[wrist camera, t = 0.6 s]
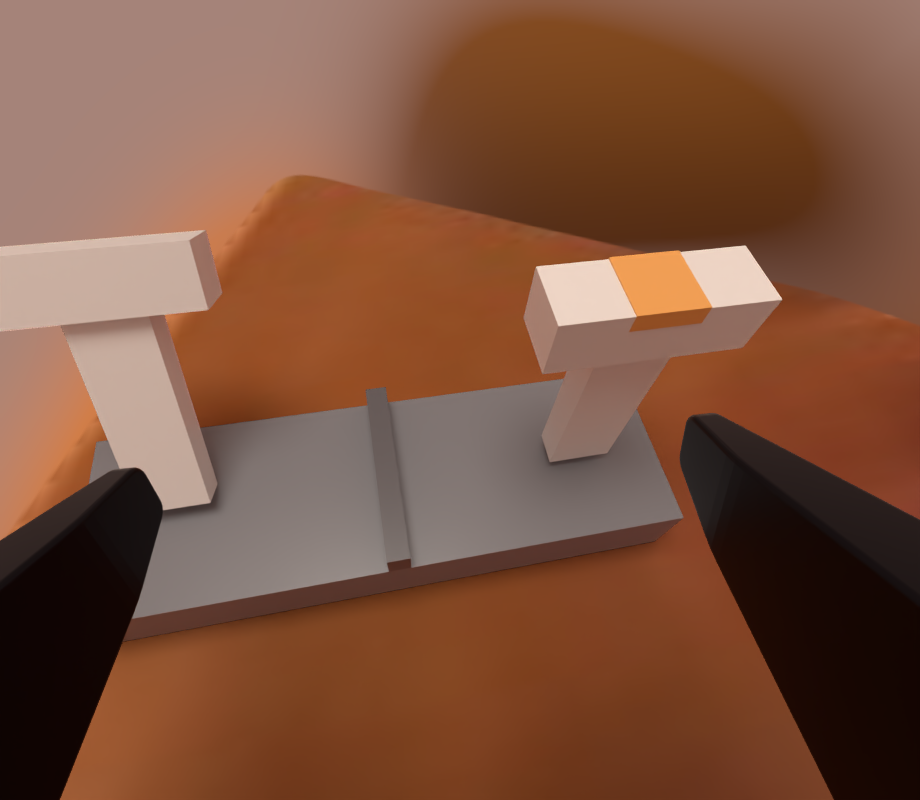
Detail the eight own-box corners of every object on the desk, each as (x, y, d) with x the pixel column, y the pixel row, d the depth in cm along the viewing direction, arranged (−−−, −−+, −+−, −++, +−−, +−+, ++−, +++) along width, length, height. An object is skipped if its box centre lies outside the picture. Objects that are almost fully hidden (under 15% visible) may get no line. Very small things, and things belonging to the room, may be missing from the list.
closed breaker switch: (261, 501, 19) (188, 240, 15) (77, 530, 18) (-54, 260, 14) (268, 470, 20) (205, 229, 16) (101, 495, 19) (-9, 247, 15)
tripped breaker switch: (652, 455, 21) (784, 298, 13) (508, 479, 20) (559, 325, 12) (634, 412, 22) (745, 243, 14) (495, 432, 21) (536, 264, 13)
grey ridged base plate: (654, 541, 23) (697, 506, 19) (109, 644, 20) (38, 625, 16) (601, 405, 26) (629, 355, 23) (132, 473, 23) (79, 427, 20)
